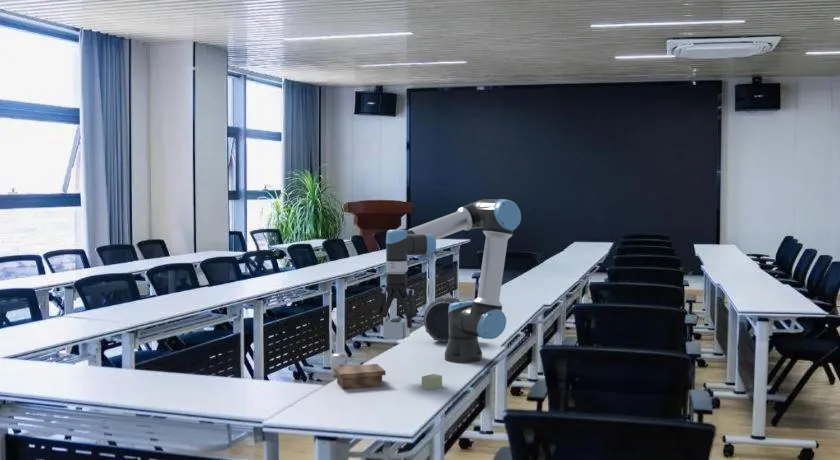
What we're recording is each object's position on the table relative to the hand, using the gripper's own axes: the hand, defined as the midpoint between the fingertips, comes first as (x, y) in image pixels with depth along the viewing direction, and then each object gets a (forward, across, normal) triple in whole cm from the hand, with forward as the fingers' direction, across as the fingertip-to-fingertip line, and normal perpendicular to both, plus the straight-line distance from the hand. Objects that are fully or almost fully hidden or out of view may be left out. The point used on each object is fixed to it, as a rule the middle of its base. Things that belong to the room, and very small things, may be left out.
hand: (396, 335), depth 302 cm
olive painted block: (+16, +17, -5) cm, 24 cm away
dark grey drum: (+15, -14, +72) cm, 74 cm away
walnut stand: (+16, -8, -12) cm, 22 cm away
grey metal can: (+16, -22, -3) cm, 28 cm away
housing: (0, 0, 0) cm, 0 cm away
